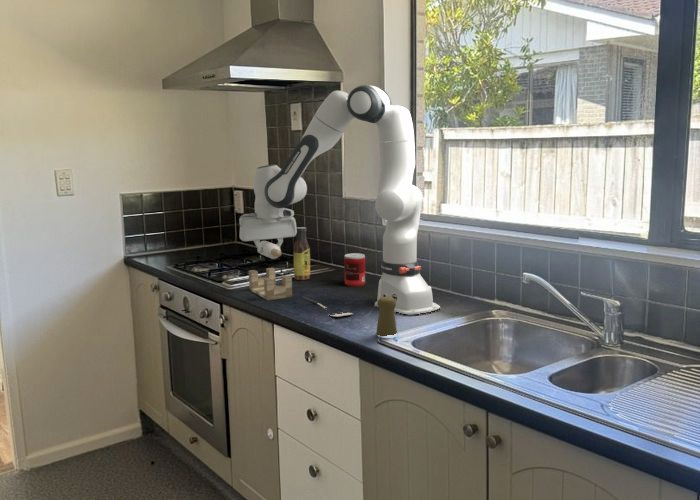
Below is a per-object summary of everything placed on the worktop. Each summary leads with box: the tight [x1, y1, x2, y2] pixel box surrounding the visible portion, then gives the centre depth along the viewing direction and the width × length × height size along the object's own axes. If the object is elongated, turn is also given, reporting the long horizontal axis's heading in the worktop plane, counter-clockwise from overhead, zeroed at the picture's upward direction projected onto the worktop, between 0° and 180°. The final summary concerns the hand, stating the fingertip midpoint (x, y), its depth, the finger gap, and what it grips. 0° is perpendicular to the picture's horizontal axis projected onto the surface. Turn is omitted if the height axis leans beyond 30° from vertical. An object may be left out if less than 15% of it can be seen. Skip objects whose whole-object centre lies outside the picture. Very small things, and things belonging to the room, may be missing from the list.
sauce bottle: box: [293, 226, 311, 281], centre depth 256 cm, size 7×6×20 cm
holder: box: [248, 267, 293, 301], centre depth 236 cm, size 18×9×7 cm, turn 29°
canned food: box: [343, 252, 366, 288], centre depth 247 cm, size 8×8×11 cm
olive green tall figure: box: [376, 297, 398, 336], centre depth 188 cm, size 6×6×11 cm
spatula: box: [301, 296, 354, 318], centre depth 218 cm, size 6×29×2 cm, turn 30°
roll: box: [258, 240, 282, 260], centre depth 234 cm, size 16×5×5 cm, turn 29°
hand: (269, 251), depth 234 cm, fingers closed on roll, 5 cm apart
